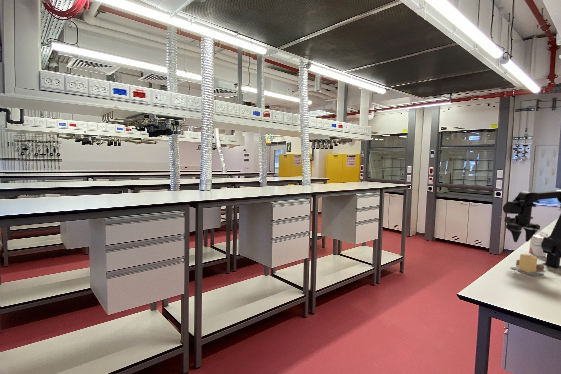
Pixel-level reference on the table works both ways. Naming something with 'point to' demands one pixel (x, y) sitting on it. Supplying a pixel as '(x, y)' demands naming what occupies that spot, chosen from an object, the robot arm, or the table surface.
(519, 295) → the table surface
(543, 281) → the table surface
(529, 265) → the ochre block
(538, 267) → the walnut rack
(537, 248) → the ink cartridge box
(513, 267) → the slate pad
